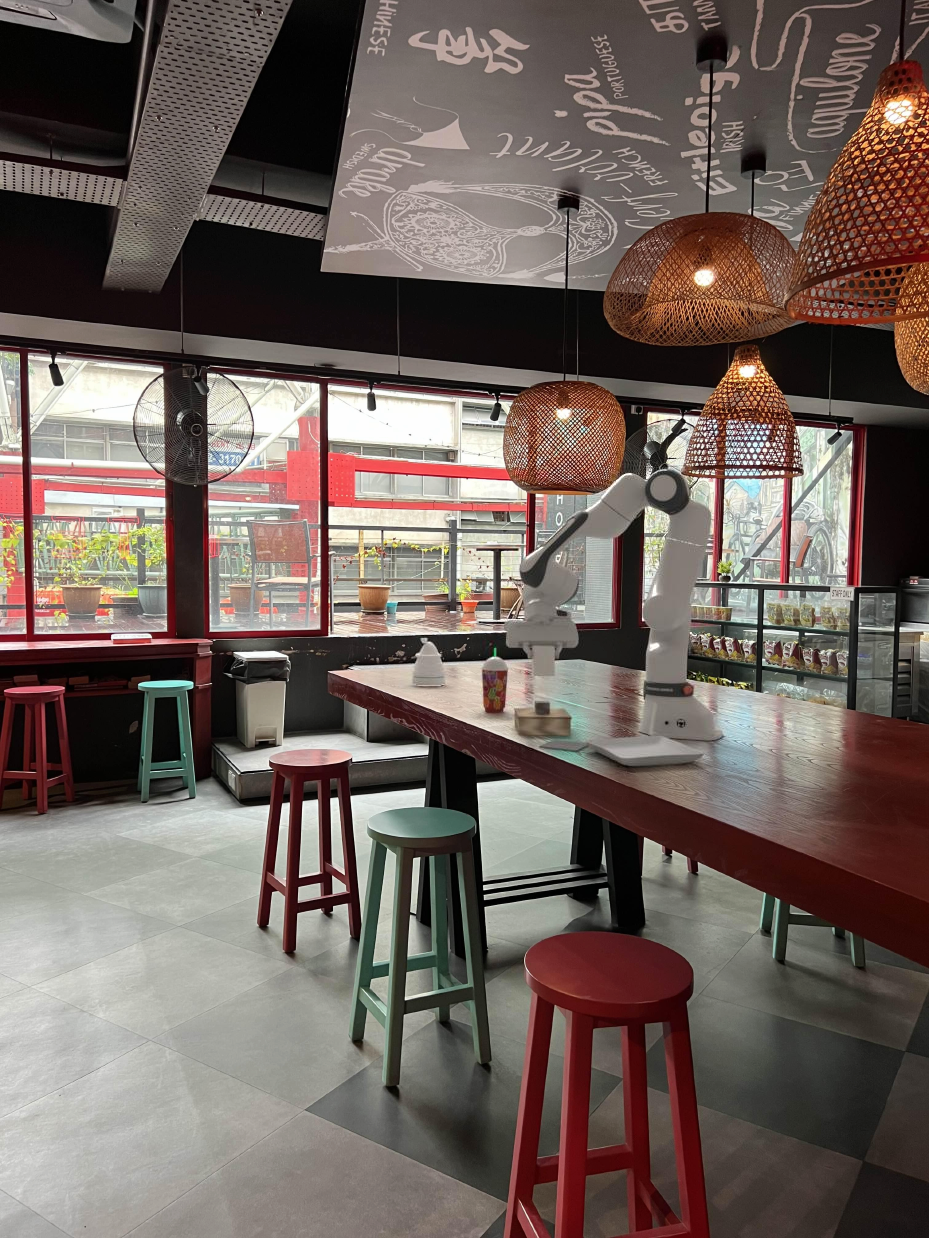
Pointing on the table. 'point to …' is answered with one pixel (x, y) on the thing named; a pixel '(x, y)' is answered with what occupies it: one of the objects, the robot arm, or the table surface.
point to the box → (542, 720)
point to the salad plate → (645, 750)
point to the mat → (564, 745)
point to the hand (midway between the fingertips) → (543, 657)
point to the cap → (543, 660)
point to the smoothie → (494, 684)
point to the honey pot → (428, 666)
